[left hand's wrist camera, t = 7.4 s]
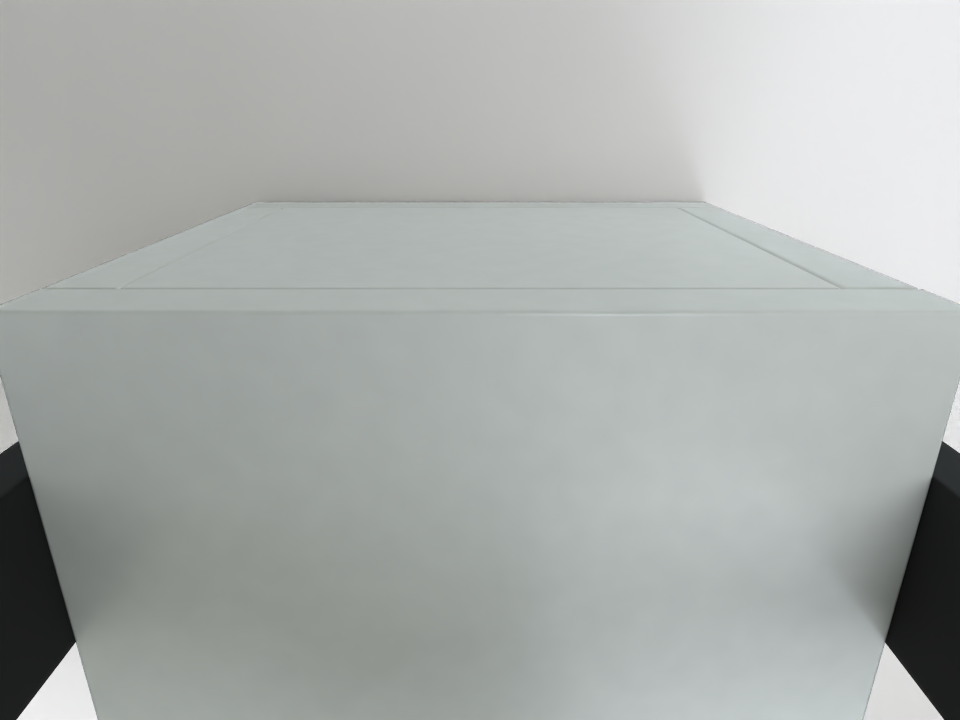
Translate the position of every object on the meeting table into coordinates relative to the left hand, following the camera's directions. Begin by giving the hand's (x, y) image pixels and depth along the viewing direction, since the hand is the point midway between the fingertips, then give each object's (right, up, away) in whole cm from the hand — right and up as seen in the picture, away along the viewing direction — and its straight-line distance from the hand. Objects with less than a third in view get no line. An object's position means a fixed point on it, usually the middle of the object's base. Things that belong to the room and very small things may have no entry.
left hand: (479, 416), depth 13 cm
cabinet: (0, -5, +7) cm, 9 cm away
